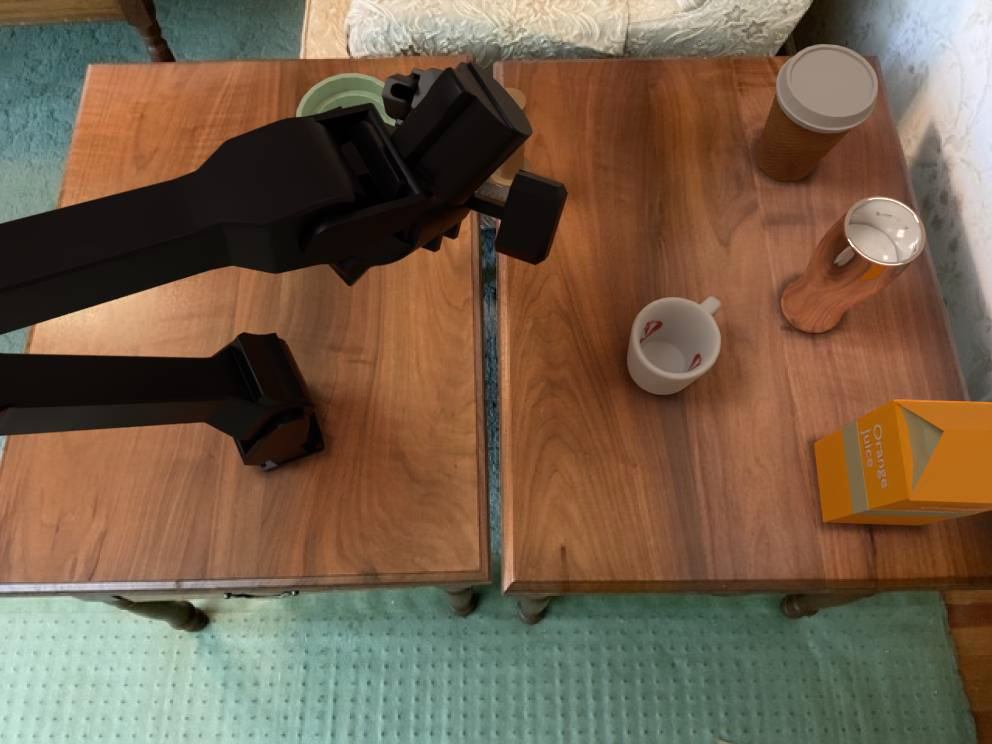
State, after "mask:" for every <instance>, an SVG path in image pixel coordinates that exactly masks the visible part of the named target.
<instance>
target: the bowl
mask: <svg viewBox="0 0 992 744" xmlns="http://www.w3.org/2000/svg"><path fill="white" fill-rule="evenodd" d="M384 85H385V82H384V81H382V80H380V79H378V78H377V77H374V76H372V75H369V74H363V73H360V72H359V73H358V72H350V73H347V72H346V73H345V72H344V73H338V74H336V75H332V76H330V77H326V78H324V79H323V80H321V81H320V82H318V83H316V84H315V85H313V86H312V87H311V88H309V90H307V92H306V93H305V94H304V95H303V96H302V97H301V100H300V102H299V105H298V106H297V109H296V112H295V113H296V114H295V117H304V116H309V115H314V114H318V113H323V112H326V111H328V110H331V109H334V108H337V107H339V106H341V107H342V108H347V107H351V106H356V105H361V104H365V103H373V104H374V105H375V107H376V108H377V110H378V112H379V113H380V115H381V117H382V119H383V120H384V122H386V123H388V124H390V125H393V126H395V121H396V120H395V119H392V118H390V117H389V116H388V115H387V114H386V112H385V109H384V104H383V99H382V92H383V88H384Z"/></svg>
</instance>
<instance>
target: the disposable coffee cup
mask: <svg viewBox="0 0 992 744" xmlns="http://www.w3.org/2000/svg"><path fill="white" fill-rule="evenodd" d="M878 91H879V80H878V76H877V73H876V71H875V69H874V68H873V67H872V65H871V64H870V63H869V62H868V60H867V59H866V58H864V56H862V55H861V54H859V53H858V52H857V51H855V50H853V49H851V48H848V47H846V46H841V45H838V44H827V43H826V44H825V43H821V44H814V45H811V46H807V47H805V48H803V49H801V50H799V51H798V52H796V54H795V55H793V56H792V57H790V58H788V60H787V61H786V62H784V63H783V65H782V66H781V67H780V69H779V71H778V73H777V76H776V81H775V93H774V96H773V100H772V103H771V106H770V108H769V111H768V115H767V119H766V121H765V124H764V127H763V130H762V133H761V135H760V139H759V141H758V144H757V147H756V150H755V158H756V163H757V165H758V167H759V168H760V170H761V171H762V172H763V173H764V174H765V175H767V176H768V177H770V178H772V179H775V180H776V181H780V182H789V183H790V182H796V181H800V180H802V179H803V178H805V177H807V176H808V175H809V174H810V172H812V171H813V170H814V169H815V167H816V166H818V164H819V163H820V162H821V161H822V160H823V159H824V158H825V157H826V156H827V155H828V154H829V153H831V152H832V150H833V149H834V148H835V147H836V146H837V145H838V143H840V142H841V140H843V139H844V137H845V136H846V135H847V134H848V133H849V132H850V131H852V129H853V128H855V127H857V126H859V125H860V124H862V123H864V122H865V121H866V120H867V119H868V118H869V117H870V116H871V114H872V113H873V111H874V110H875V106H877V105H876V104H877V99H878Z"/></svg>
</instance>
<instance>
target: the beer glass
mask: <svg viewBox="0 0 992 744" xmlns="http://www.w3.org/2000/svg"><path fill="white" fill-rule="evenodd" d="M926 235H927V234H926V228H925V226H924V223H923V221H922V219H921V218H920V217H919V215H918V214H917V213H916V212H915V210H913V208H912V207H910V206H909V205H908V204H906V203H904V202H902V201H900V200H898V199H896V198H892V197H889V196H883V195H882V196H881V195H880V196H879V195H875V196H868V197H865V198H861V199H860V200H858V201H856V202H855V203H854V204H853V205H852V206H850V208H849V209H848V210H846V212H845V213H844V214H842V215H841V217H840V218H839V219H838V220H837V221H835V223H833V225H832V226H831V227H829V229H828V230H827V231H826V232H825V234H824V235H823V236H822V238H821V239H820V240H819V242H818V243H817V245H816V247H815V249H814V251H813V252H812V254H811V257H810V259H809V261H808V263H807V266H806V268H805V270H804V272H803V274H802V275H801V276H800V277H798V278H797V279H796V280H794V281H792V282H790V283H789V284H788V285H787V286H786V287H785V289H784V290H783V291H782V294H781V299H780V308H781V311H782V313H783V316H784V317H785V319H786V320H787V321H788V322H789V323H790V325H792V326H793V327H794V328H796V329H798V330H800V331H803V332H805V333H810V334H820V333H825V332H827V331H829V330H831V329H833V328H834V327H835V326H836V325H837V324H838V323H839V321H840V320H841V318H842V316H843V314H844V313H845V312H846V311H847V310H848V309H850V308H852V307H854V306H856V305H857V304H860V303H862V302H864V301H866V300H867V299H869V298H872V297H874V296H875V295H877V294H879V293H881V291H883V290H884V289H885V288H887V287H888V286H889V285H891V283H892V284H893V282H894V281H895V280H896V279H897V278H898V277H899V276H900V275H902V274H903V272H904V271H905V270H906V269H907V268H908V267H909V266H910V265H911V264H912V262H913V261H915V260H916V259H917V258H918V257H919V256H920V255H921V253H922V252H923V250H924V248H925V245H926V238H927V237H926Z"/></svg>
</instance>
